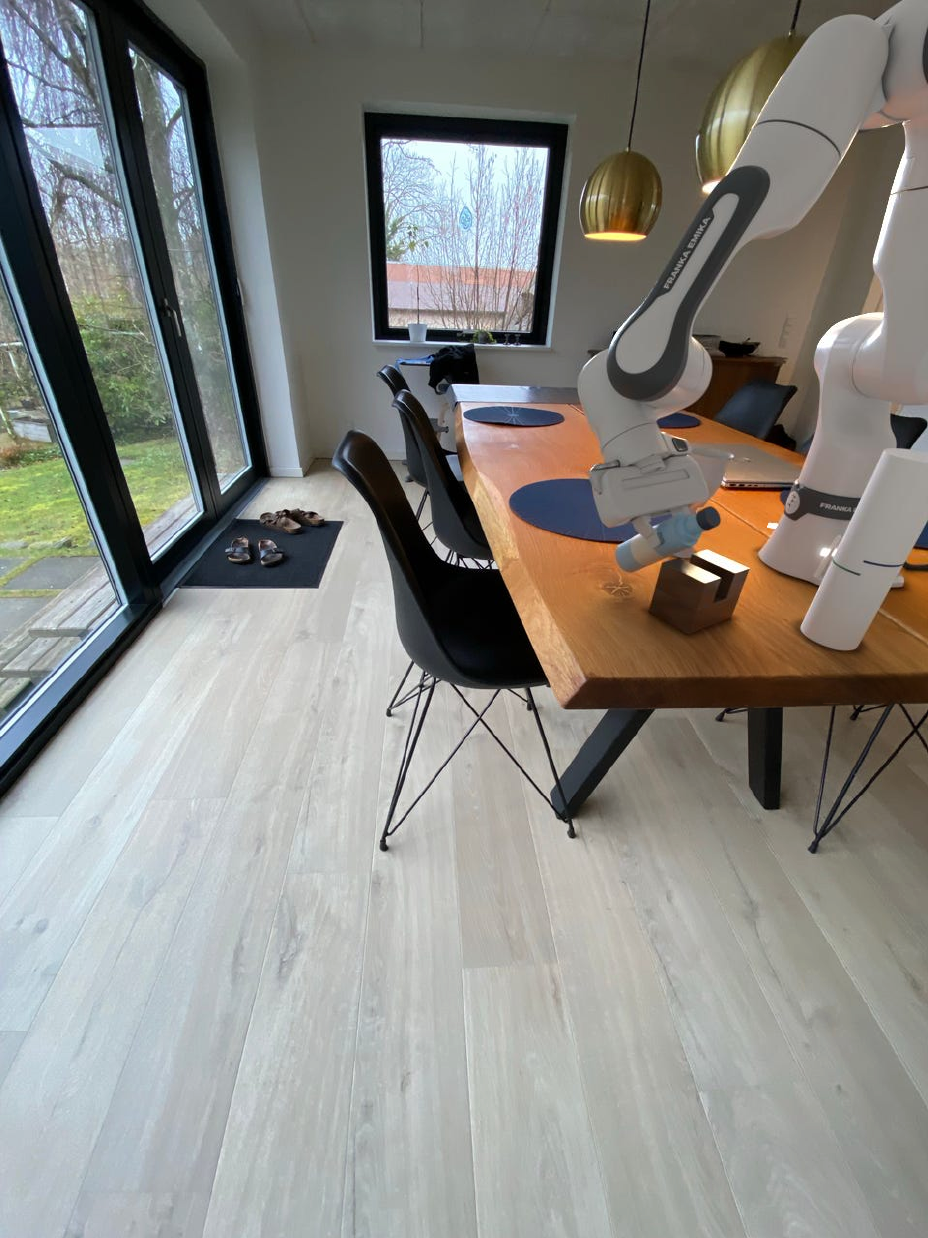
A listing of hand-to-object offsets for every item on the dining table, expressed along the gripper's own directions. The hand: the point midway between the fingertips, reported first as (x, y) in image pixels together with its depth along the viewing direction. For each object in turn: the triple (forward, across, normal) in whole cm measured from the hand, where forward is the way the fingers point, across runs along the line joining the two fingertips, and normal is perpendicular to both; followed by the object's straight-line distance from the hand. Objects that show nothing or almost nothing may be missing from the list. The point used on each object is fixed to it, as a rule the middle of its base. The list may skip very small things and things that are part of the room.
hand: (672, 542), depth 76 cm
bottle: (+4, 0, +7) cm, 8 cm away
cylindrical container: (+20, +13, -7) cm, 25 cm away
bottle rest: (+11, 0, +2) cm, 11 cm away
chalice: (0, +17, +13) cm, 22 cm away
